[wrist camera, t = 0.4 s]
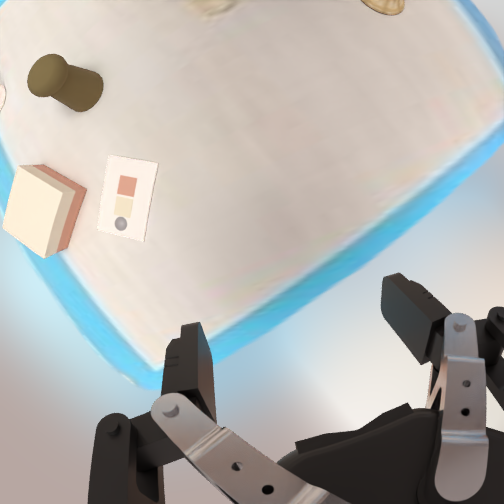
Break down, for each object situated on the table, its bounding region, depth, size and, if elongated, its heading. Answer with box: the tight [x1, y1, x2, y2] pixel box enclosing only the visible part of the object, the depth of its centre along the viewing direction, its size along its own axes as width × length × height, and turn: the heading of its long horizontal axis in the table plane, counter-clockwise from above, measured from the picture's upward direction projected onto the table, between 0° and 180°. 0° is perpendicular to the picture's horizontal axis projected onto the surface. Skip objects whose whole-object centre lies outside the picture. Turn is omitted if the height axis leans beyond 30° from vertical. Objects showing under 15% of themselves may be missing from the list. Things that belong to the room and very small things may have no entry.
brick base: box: [3, 165, 87, 259], centre depth 32 cm, size 9×9×6 cm
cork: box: [27, 54, 103, 112], centre depth 26 cm, size 6×6×11 cm
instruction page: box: [97, 155, 159, 242], centre depth 35 cm, size 10×7×1 cm
